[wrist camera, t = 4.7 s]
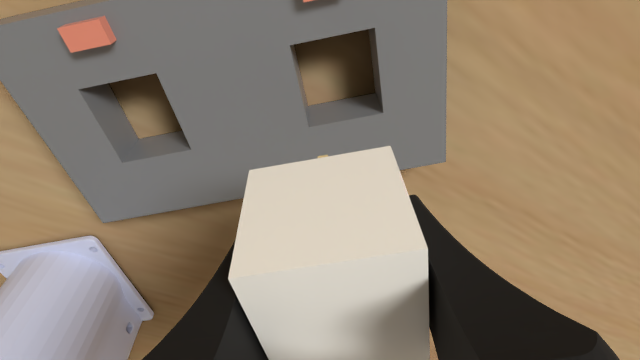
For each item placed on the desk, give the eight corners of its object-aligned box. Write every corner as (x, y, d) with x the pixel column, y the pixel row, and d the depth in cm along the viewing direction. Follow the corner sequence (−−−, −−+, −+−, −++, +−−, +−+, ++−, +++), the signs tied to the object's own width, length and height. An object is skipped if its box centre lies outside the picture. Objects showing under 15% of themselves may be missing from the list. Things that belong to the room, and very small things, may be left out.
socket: (432, 139, 23) (449, 168, 20) (119, 196, 24) (98, 230, 22) (429, -79, 16) (453, -76, 14) (3, 18, 18) (-45, 36, 15)
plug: (392, 245, 18) (430, 388, 13) (294, 260, 18) (291, 405, 13) (380, 117, 14) (427, 248, 9) (255, 139, 14) (228, 278, 9)
